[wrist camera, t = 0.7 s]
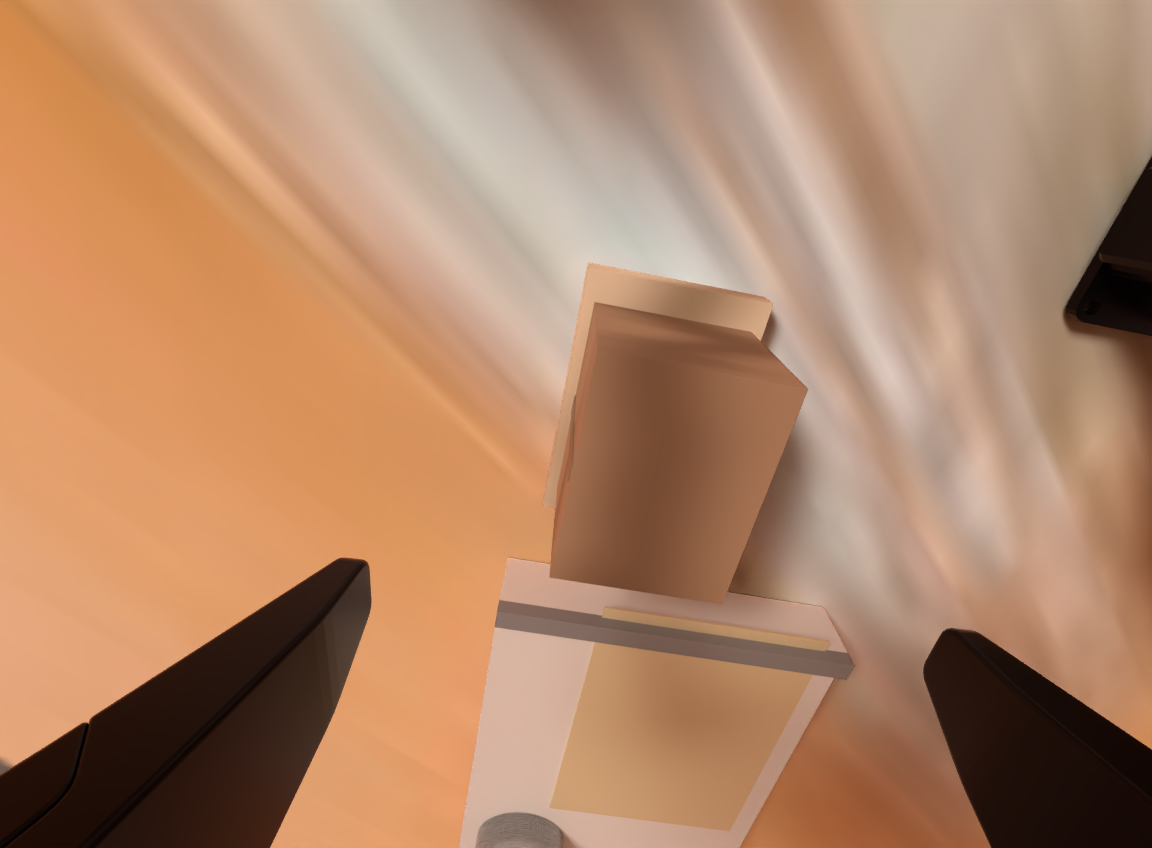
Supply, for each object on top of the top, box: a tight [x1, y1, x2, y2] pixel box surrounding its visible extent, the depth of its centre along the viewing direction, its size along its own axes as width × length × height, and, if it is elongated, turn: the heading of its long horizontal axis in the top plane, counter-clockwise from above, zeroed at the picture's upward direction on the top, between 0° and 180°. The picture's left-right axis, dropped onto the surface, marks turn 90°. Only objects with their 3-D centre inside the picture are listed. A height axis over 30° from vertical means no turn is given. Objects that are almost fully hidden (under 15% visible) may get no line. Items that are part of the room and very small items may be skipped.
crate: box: [543, 263, 808, 605], centre depth 17 cm, size 6×9×6 cm, turn 169°
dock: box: [459, 557, 855, 848], centre depth 26 cm, size 14×18×3 cm
